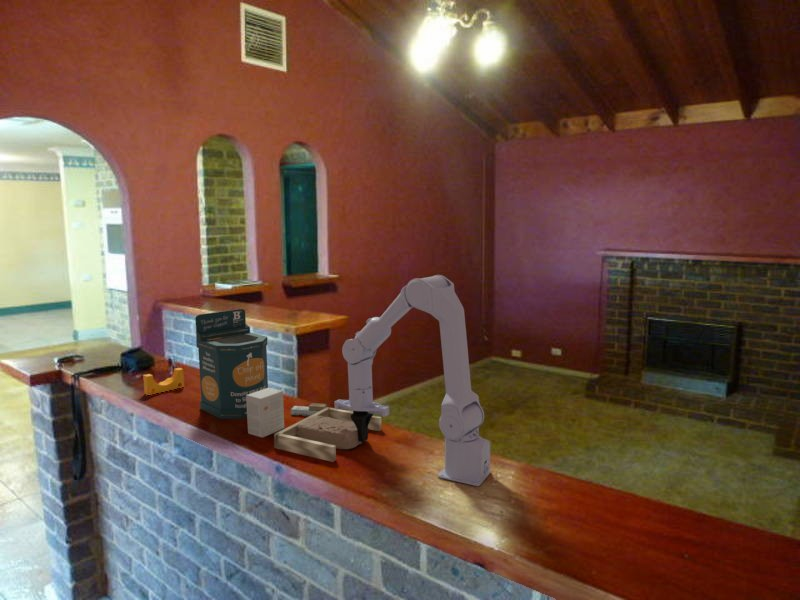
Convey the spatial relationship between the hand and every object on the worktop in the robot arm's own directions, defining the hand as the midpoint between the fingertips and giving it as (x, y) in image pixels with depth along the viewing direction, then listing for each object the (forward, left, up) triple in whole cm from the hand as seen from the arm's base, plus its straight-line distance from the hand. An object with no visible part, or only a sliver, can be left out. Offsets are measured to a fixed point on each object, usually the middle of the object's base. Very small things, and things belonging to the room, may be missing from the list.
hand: (362, 440), depth 140 cm
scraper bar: (+25, -12, -2) cm, 28 cm away
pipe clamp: (+81, -9, -2) cm, 82 cm away
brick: (+9, +1, -2) cm, 9 cm away
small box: (+28, +3, -2) cm, 28 cm away
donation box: (+47, -7, -2) cm, 47 cm away
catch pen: (+9, 0, -1) cm, 9 cm away
